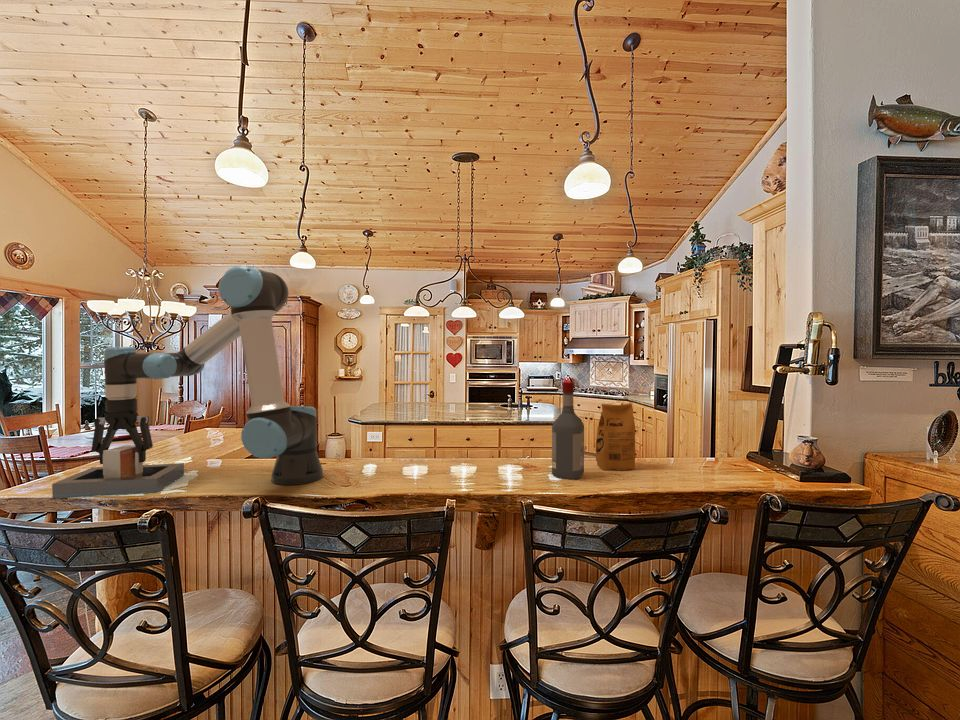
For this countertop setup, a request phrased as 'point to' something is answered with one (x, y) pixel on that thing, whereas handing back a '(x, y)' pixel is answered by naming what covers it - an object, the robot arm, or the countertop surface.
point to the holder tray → (117, 482)
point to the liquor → (568, 440)
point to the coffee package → (616, 438)
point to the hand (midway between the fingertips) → (123, 473)
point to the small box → (120, 462)
